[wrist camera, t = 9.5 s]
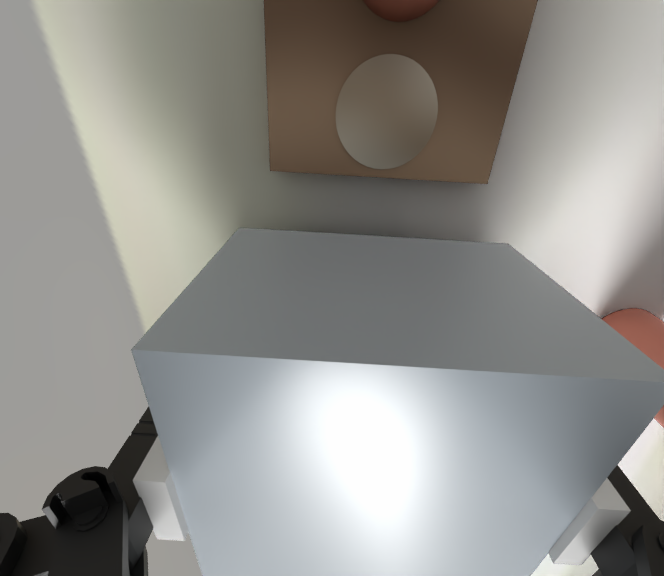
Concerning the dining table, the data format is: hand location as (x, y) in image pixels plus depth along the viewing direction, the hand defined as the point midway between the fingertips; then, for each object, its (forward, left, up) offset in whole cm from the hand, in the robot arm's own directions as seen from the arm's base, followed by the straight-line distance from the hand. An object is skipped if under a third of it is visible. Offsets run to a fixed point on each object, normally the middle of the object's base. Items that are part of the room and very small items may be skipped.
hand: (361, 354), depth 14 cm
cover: (0, 0, -1) cm, 1 cm away
